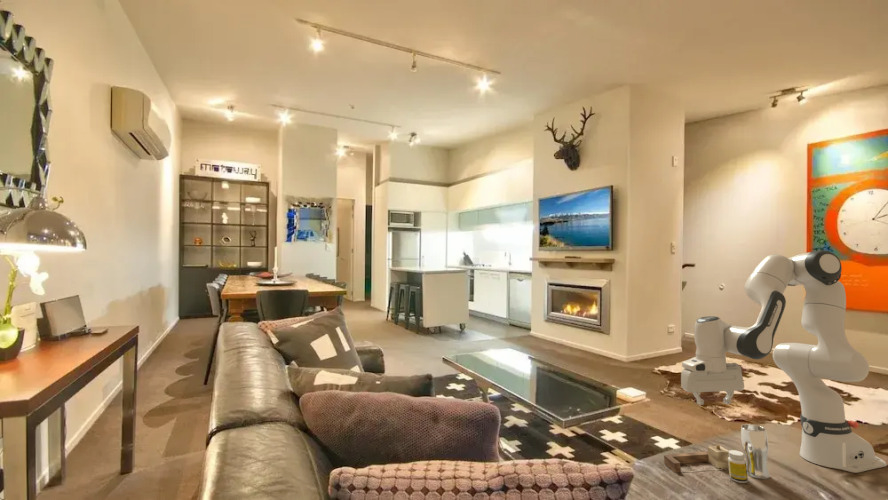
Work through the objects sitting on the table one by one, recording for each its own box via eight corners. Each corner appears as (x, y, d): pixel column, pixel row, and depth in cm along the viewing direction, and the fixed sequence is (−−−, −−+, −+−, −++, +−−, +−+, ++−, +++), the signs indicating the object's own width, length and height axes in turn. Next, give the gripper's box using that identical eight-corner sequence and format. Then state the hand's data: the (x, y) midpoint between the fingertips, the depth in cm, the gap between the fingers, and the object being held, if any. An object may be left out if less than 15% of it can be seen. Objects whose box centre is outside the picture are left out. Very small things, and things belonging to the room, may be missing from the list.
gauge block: (721, 461, 141) (719, 442, 141) (730, 467, 136) (729, 447, 136) (708, 462, 140) (707, 442, 141) (718, 468, 136) (716, 448, 136)
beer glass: (742, 475, 131) (738, 428, 132) (745, 467, 136) (741, 422, 137) (770, 482, 126) (765, 433, 127) (772, 473, 131) (767, 426, 132)
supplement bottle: (751, 483, 126) (748, 456, 126) (734, 483, 127) (731, 455, 127) (742, 476, 130) (740, 449, 131) (726, 475, 131) (724, 449, 132)
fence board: (715, 458, 143) (714, 449, 143) (732, 468, 135) (731, 459, 135) (662, 462, 142) (661, 453, 143) (675, 473, 134) (675, 463, 135)
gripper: (733, 360, 144) (736, 400, 143) (677, 362, 143) (679, 402, 143) (747, 364, 137) (750, 405, 137) (688, 366, 137) (690, 407, 136)
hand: (713, 403), depth 140 cm, fingers open, 8 cm apart
